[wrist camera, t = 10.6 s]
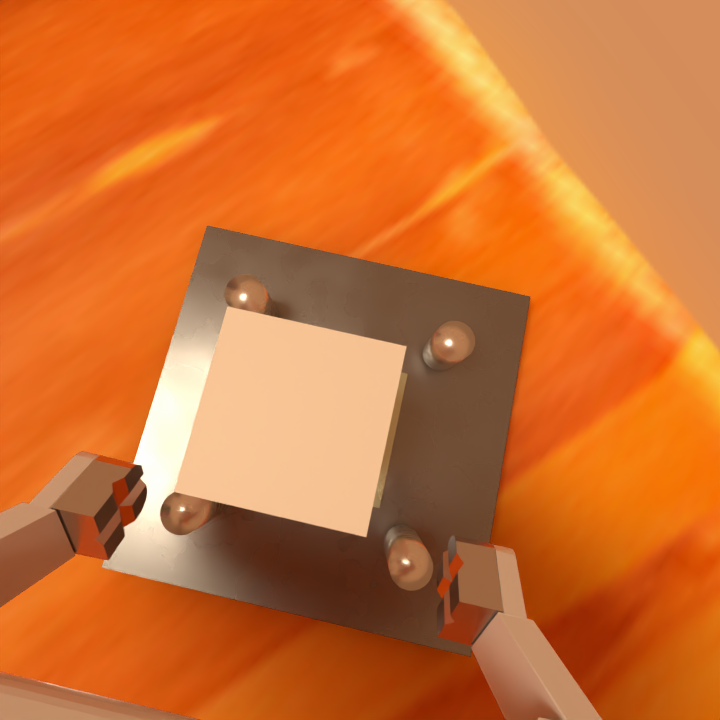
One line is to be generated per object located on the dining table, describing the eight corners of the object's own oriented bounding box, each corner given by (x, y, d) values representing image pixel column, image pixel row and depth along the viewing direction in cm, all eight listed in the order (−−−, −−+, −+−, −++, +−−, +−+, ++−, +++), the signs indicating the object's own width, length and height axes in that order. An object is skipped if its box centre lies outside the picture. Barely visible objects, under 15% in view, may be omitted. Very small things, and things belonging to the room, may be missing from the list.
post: (360, 478, 18) (365, 537, 8) (271, 458, 18) (174, 491, 8) (379, 389, 19) (406, 346, 9) (293, 370, 19) (227, 306, 9)
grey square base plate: (464, 644, 18) (494, 703, 14) (114, 560, 19) (51, 594, 15) (522, 302, 21) (560, 273, 17) (213, 235, 21) (181, 190, 17)
